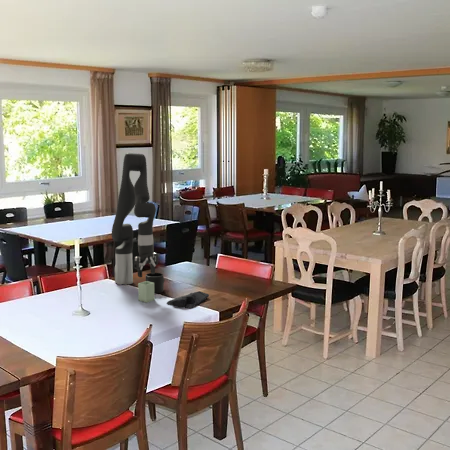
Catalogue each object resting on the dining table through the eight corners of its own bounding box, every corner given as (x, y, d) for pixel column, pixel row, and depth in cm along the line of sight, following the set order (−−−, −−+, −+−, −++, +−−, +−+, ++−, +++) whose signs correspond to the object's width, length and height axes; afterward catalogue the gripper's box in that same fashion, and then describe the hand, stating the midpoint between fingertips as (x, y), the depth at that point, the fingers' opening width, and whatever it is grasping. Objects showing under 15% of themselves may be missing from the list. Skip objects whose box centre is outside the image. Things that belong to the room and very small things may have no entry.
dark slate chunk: (214, 299, 283) (214, 290, 283) (189, 310, 265) (188, 301, 264) (189, 294, 291) (189, 286, 291) (163, 305, 273) (163, 296, 272)
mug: (170, 289, 299) (170, 273, 298) (154, 294, 290) (154, 277, 288) (158, 286, 305) (157, 270, 303) (142, 291, 295) (141, 275, 294)
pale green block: (138, 300, 279) (138, 283, 277) (146, 298, 283) (146, 281, 282) (146, 302, 275) (146, 285, 274) (154, 300, 280) (154, 282, 278)
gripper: (150, 240, 283) (151, 271, 285) (129, 244, 271) (130, 277, 274) (161, 242, 278) (162, 273, 280) (140, 246, 267) (141, 279, 269)
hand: (146, 275), depth 277 cm, fingers open, 8 cm apart
